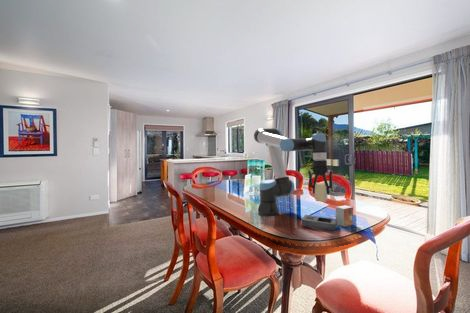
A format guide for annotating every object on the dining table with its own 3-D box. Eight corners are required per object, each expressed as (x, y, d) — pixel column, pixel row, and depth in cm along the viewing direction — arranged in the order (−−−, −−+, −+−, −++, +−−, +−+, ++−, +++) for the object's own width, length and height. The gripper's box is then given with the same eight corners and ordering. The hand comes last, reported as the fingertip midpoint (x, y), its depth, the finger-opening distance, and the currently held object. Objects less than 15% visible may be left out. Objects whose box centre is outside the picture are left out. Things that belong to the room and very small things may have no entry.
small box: (343, 227, 117) (343, 209, 117) (335, 224, 122) (335, 206, 122) (353, 224, 120) (353, 207, 120) (345, 221, 126) (344, 204, 125)
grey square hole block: (301, 226, 121) (301, 219, 120) (305, 221, 129) (305, 214, 129) (335, 231, 111) (335, 224, 111) (337, 225, 120) (336, 218, 119)
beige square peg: (315, 201, 120) (315, 184, 120) (317, 199, 124) (316, 182, 124) (325, 201, 117) (324, 184, 117) (326, 200, 122) (325, 183, 122)
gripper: (302, 160, 122) (304, 199, 122) (336, 159, 113) (337, 202, 113) (305, 159, 128) (306, 196, 129) (337, 159, 119) (338, 199, 119)
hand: (321, 199), depth 121 cm, fingers closed on beige square peg, 5 cm apart
